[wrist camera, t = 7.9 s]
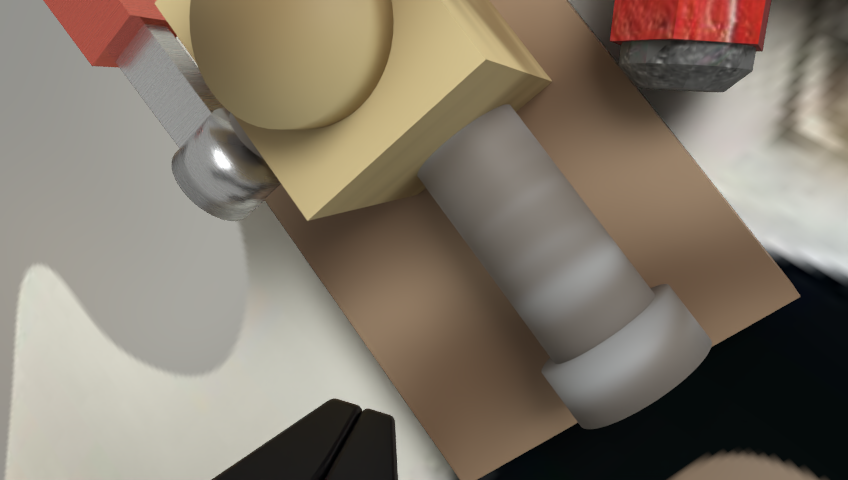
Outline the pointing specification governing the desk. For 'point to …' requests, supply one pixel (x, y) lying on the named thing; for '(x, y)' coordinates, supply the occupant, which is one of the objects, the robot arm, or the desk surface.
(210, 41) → the ball valve manifold
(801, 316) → the desk surface
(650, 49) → the toy minigun
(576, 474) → the desk surface
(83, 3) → the lever
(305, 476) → the robot arm
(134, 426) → the desk surface
